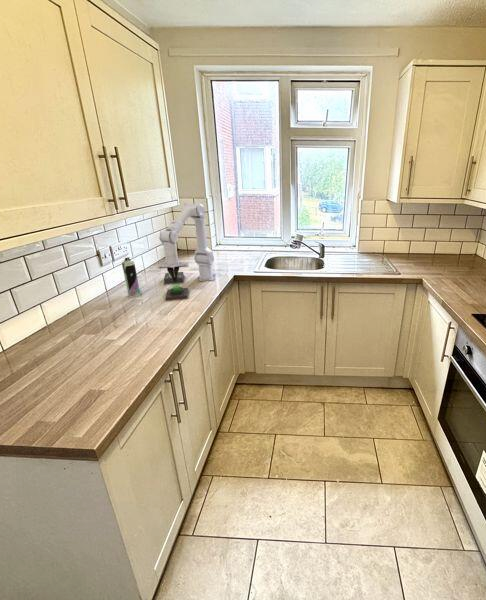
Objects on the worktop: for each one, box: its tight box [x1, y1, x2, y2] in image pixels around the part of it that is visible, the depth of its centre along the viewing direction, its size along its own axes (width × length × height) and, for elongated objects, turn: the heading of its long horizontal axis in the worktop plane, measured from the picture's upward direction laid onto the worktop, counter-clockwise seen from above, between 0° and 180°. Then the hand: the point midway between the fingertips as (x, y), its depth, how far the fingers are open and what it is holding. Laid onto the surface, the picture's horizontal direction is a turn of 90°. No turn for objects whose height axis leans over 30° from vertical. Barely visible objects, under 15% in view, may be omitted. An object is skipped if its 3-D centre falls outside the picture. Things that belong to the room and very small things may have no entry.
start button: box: [171, 285, 181, 291], centre depth 161 cm, size 4×4×2 cm
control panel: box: [163, 271, 185, 285], centre depth 184 cm, size 13×10×3 cm
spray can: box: [121, 256, 142, 298], centre depth 158 cm, size 6×6×20 cm
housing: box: [165, 286, 189, 301], centre depth 162 cm, size 12×10×4 cm
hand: (175, 281), depth 160 cm, fingers closed
